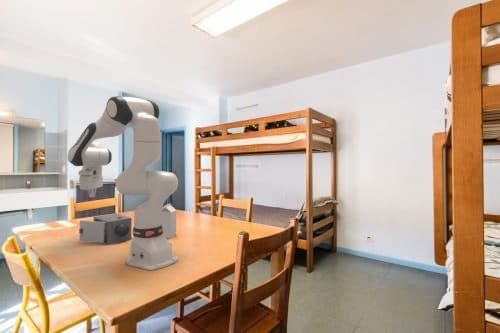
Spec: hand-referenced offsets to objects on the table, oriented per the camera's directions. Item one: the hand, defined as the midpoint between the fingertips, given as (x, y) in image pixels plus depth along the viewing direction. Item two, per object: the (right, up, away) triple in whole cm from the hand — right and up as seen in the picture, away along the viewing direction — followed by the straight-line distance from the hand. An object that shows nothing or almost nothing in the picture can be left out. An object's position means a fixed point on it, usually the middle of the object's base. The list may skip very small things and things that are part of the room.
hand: (92, 196), depth 127 cm
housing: (+9, -24, +4) cm, 26 cm away
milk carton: (+38, -25, +10) cm, 46 cm away
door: (+3, -23, -4) cm, 24 cm away
